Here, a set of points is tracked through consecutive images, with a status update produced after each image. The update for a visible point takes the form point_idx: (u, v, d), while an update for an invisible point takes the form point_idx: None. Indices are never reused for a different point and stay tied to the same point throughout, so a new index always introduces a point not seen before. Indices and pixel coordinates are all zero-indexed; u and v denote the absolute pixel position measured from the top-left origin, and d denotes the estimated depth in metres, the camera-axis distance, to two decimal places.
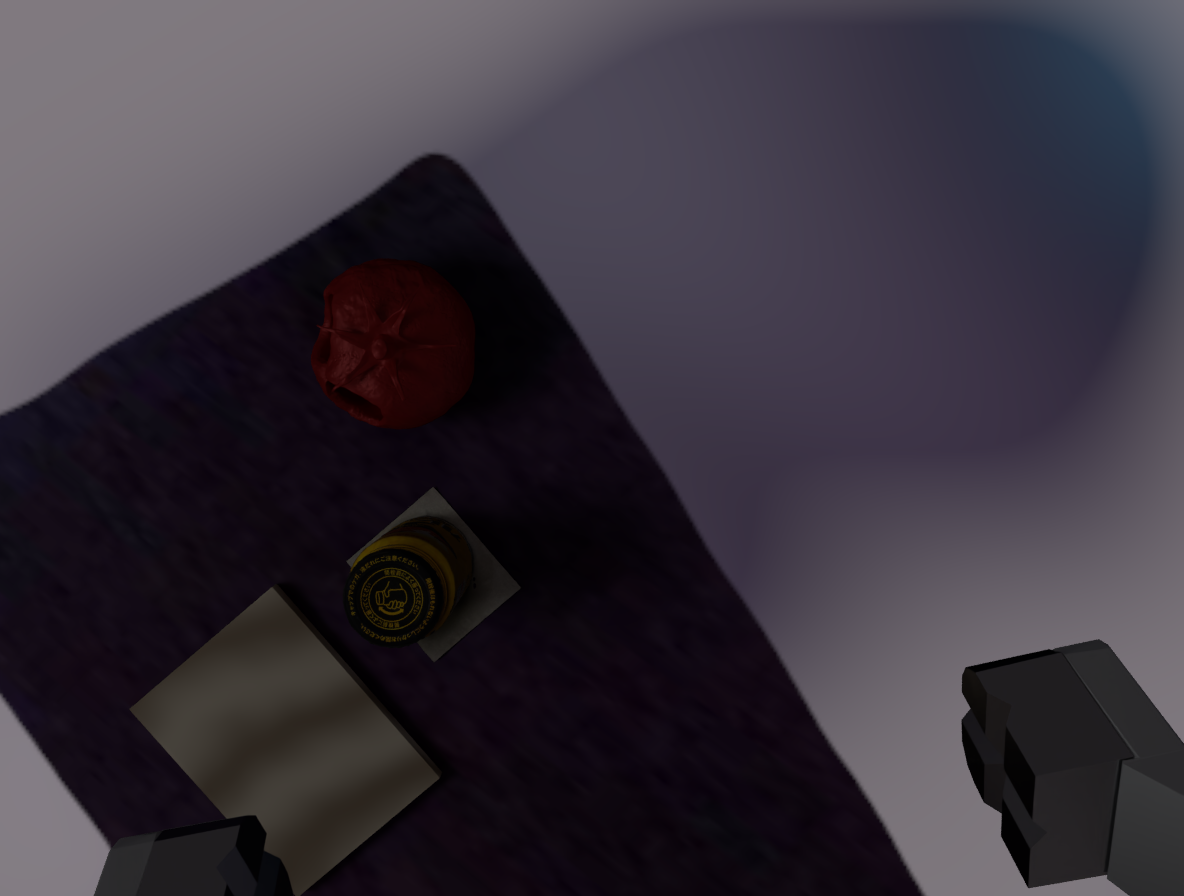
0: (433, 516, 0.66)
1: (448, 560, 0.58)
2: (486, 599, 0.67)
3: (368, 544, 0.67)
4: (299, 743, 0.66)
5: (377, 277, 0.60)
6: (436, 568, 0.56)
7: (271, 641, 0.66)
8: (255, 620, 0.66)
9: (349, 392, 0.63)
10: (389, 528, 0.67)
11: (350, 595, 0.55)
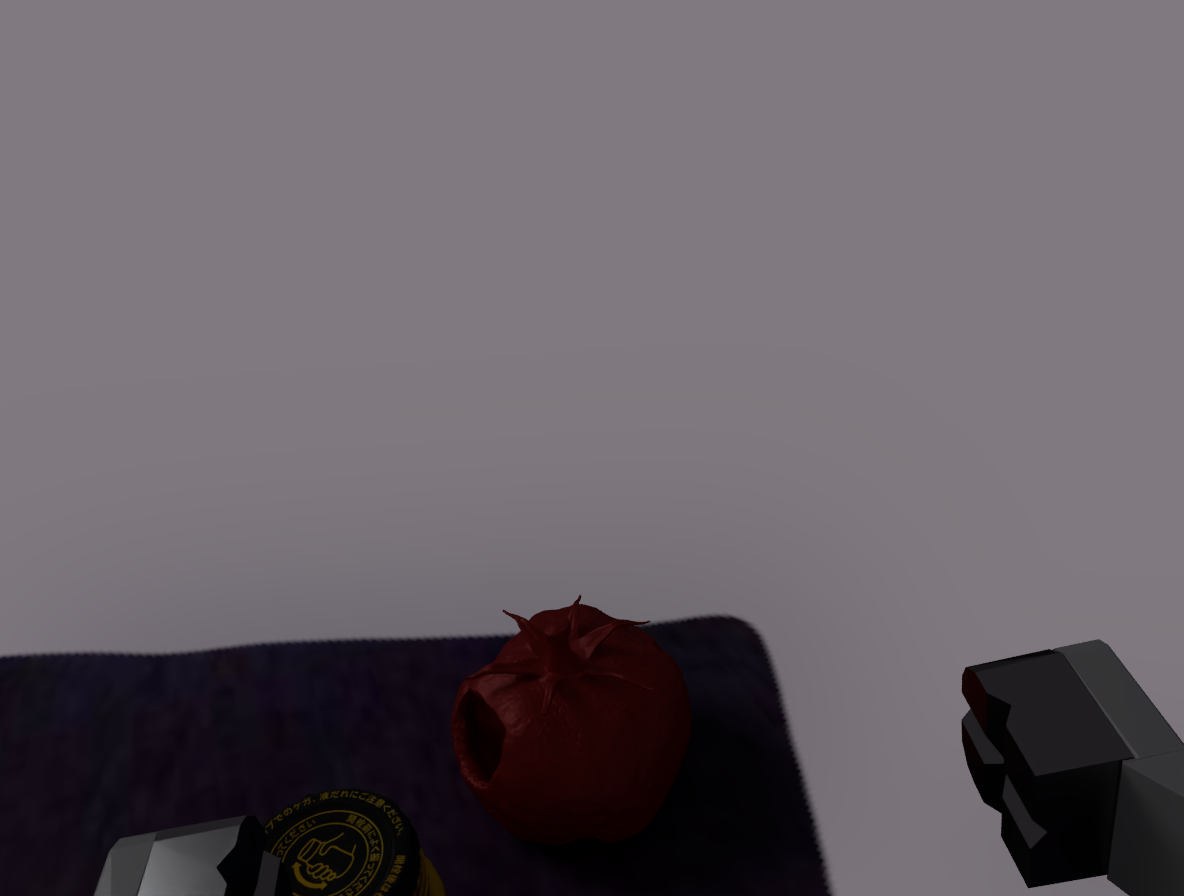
0: None
1: None
2: None
3: None
4: None
5: (603, 615, 0.45)
6: (424, 881, 0.30)
7: None
8: None
9: (478, 756, 0.44)
10: None
11: (274, 822, 0.30)
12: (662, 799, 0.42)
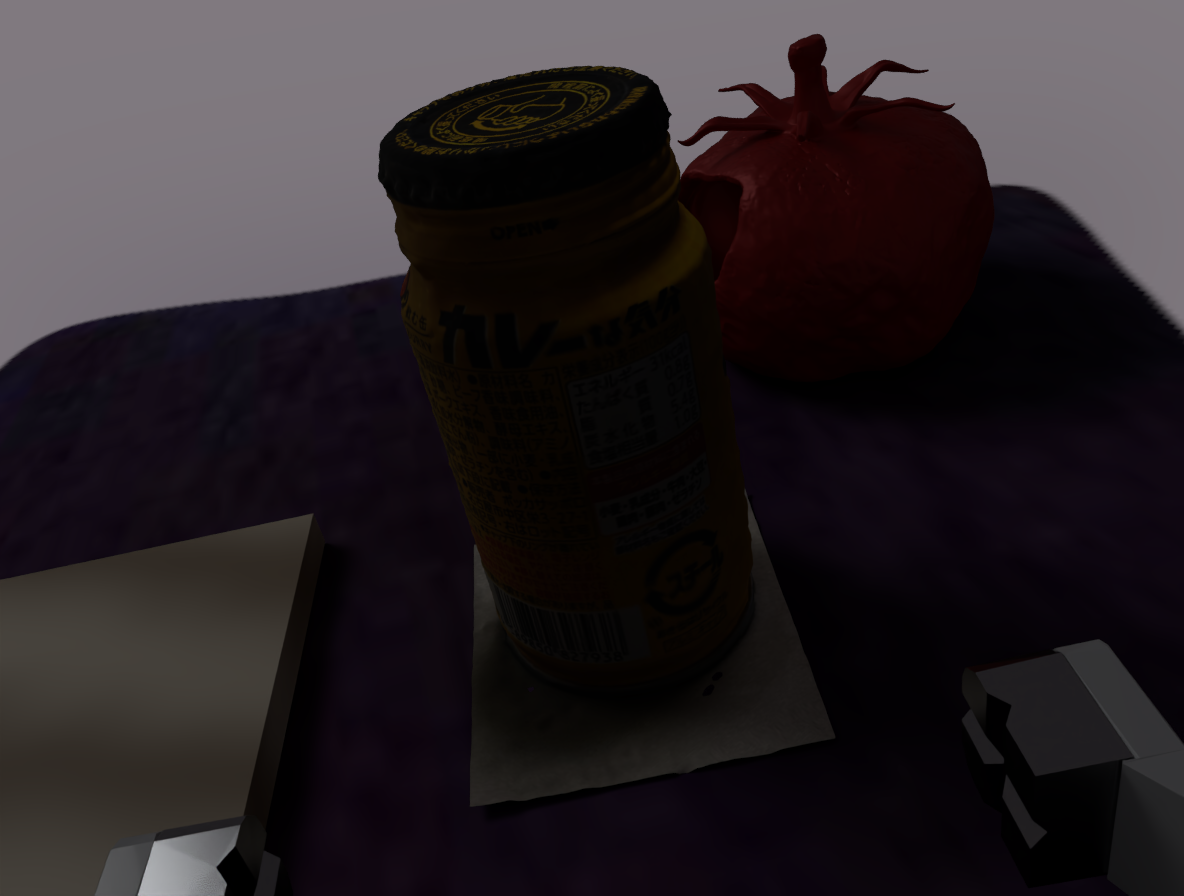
0: None
1: (709, 250, 0.20)
2: (719, 725, 0.21)
3: None
4: (11, 809, 0.22)
5: None
6: (673, 158, 0.19)
7: (211, 591, 0.27)
8: (229, 551, 0.28)
9: None
10: None
11: (438, 101, 0.20)
12: (960, 303, 0.30)
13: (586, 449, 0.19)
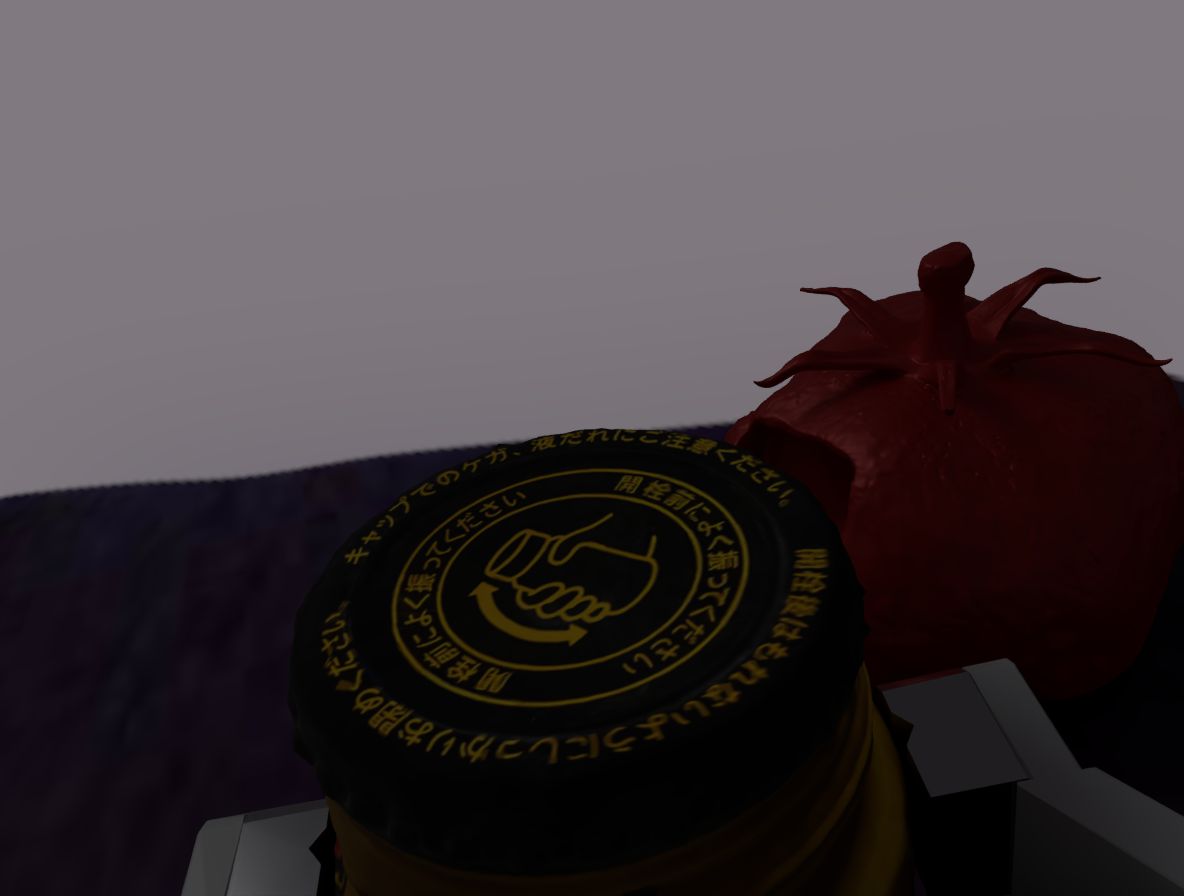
0: None
1: (906, 785, 0.11)
2: None
3: None
4: None
5: None
6: None
7: None
8: None
9: None
10: None
11: (412, 499, 0.11)
12: None
13: None
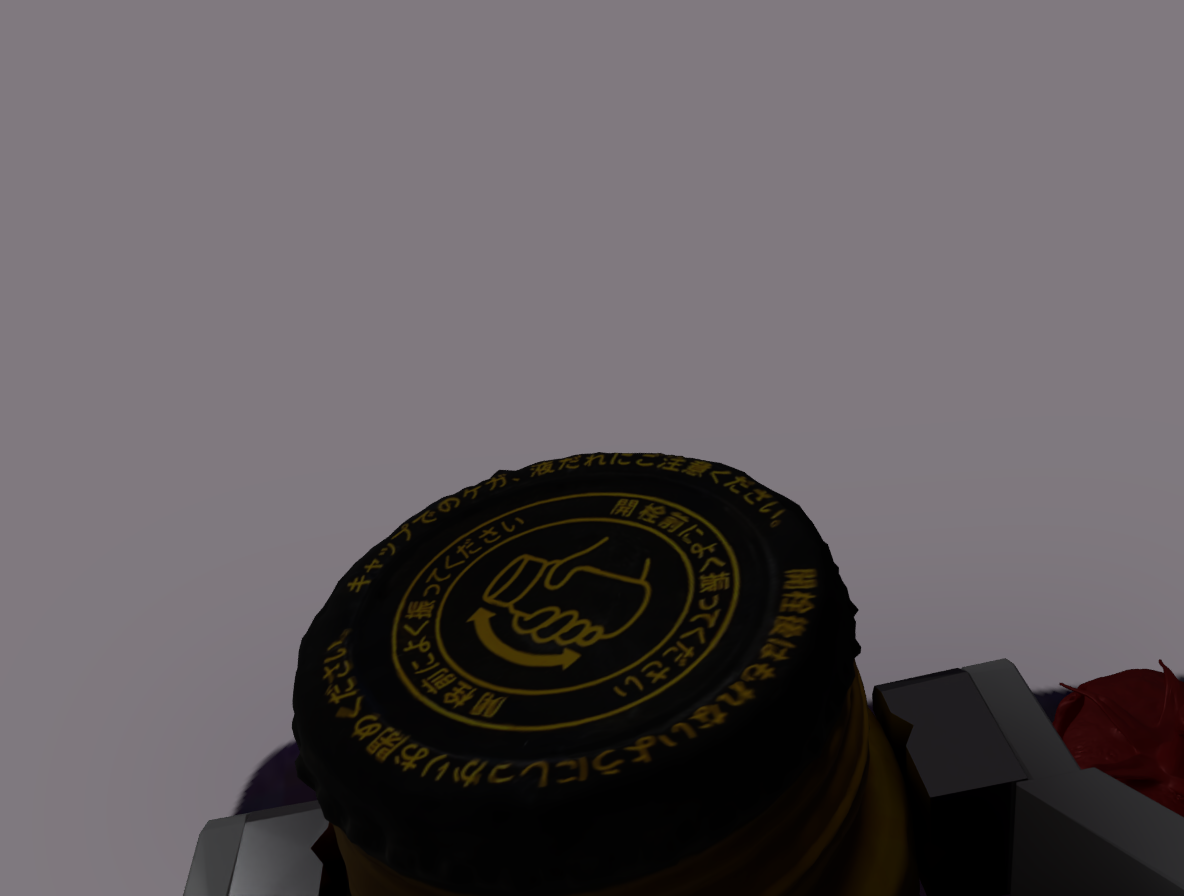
0: None
1: (909, 801, 0.11)
2: None
3: None
4: None
5: None
6: (854, 669, 0.10)
7: None
8: None
9: None
10: None
11: (414, 526, 0.11)
12: None
13: None
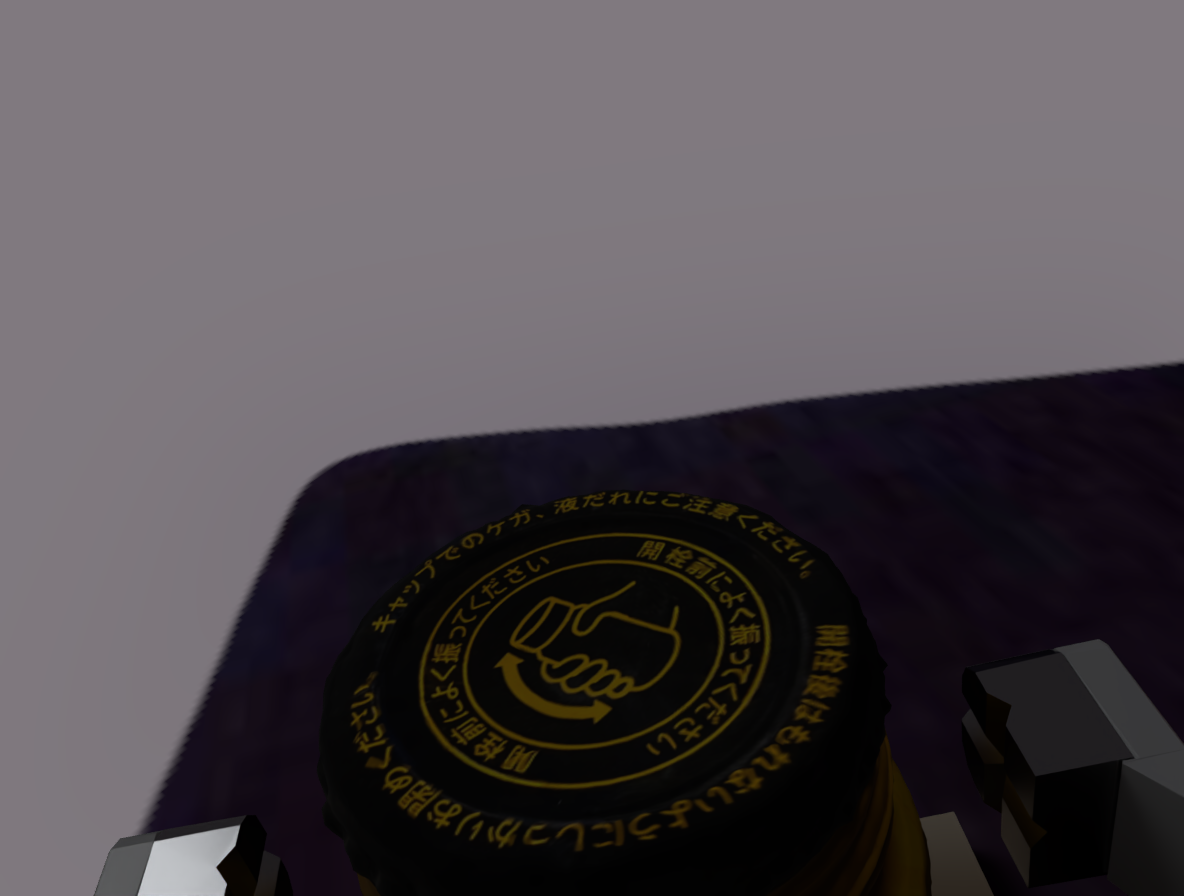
0: None
1: (926, 847, 0.11)
2: None
3: None
4: None
5: None
6: None
7: None
8: None
9: None
10: None
11: (438, 563, 0.11)
12: None
13: None
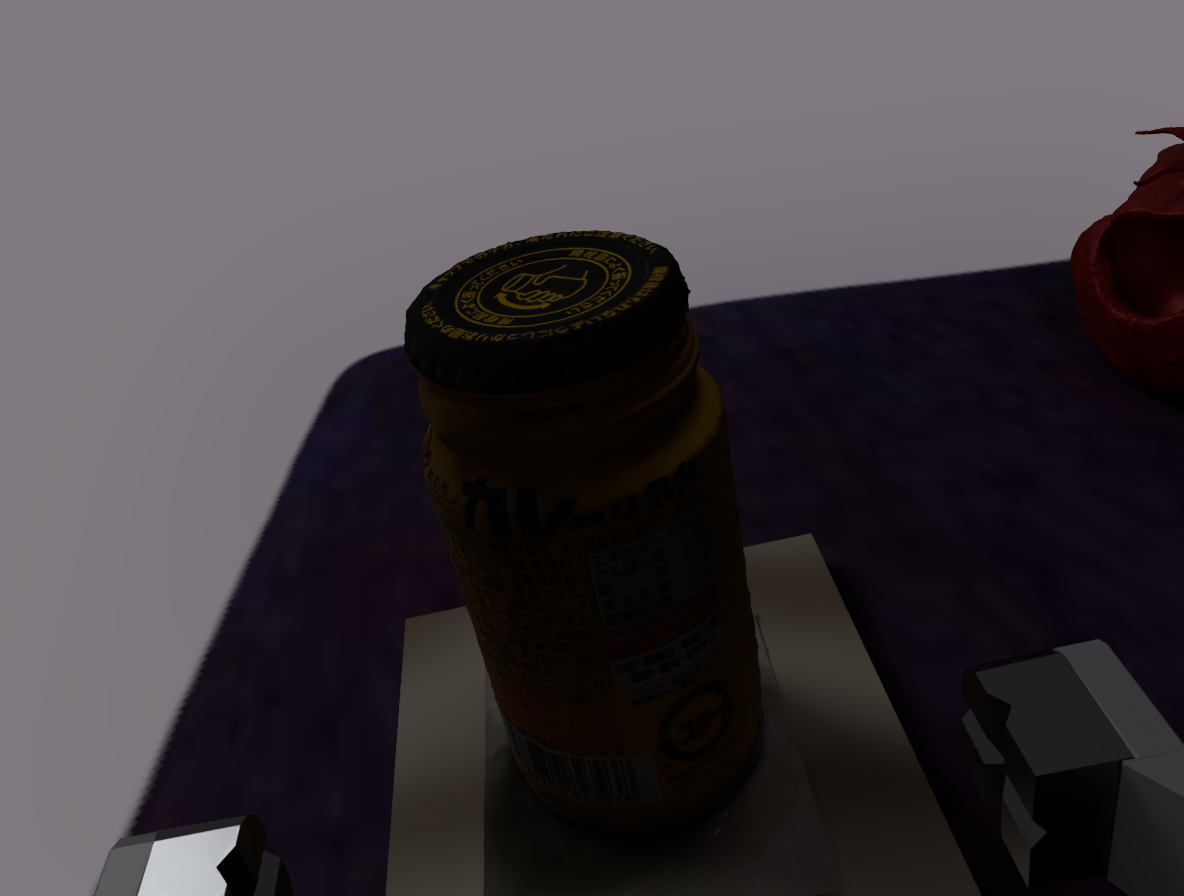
0: None
1: (725, 413, 0.20)
2: (728, 871, 0.22)
3: None
4: None
5: None
6: (692, 330, 0.19)
7: (752, 607, 0.28)
8: None
9: None
10: None
11: (462, 264, 0.20)
12: None
13: (603, 613, 0.19)
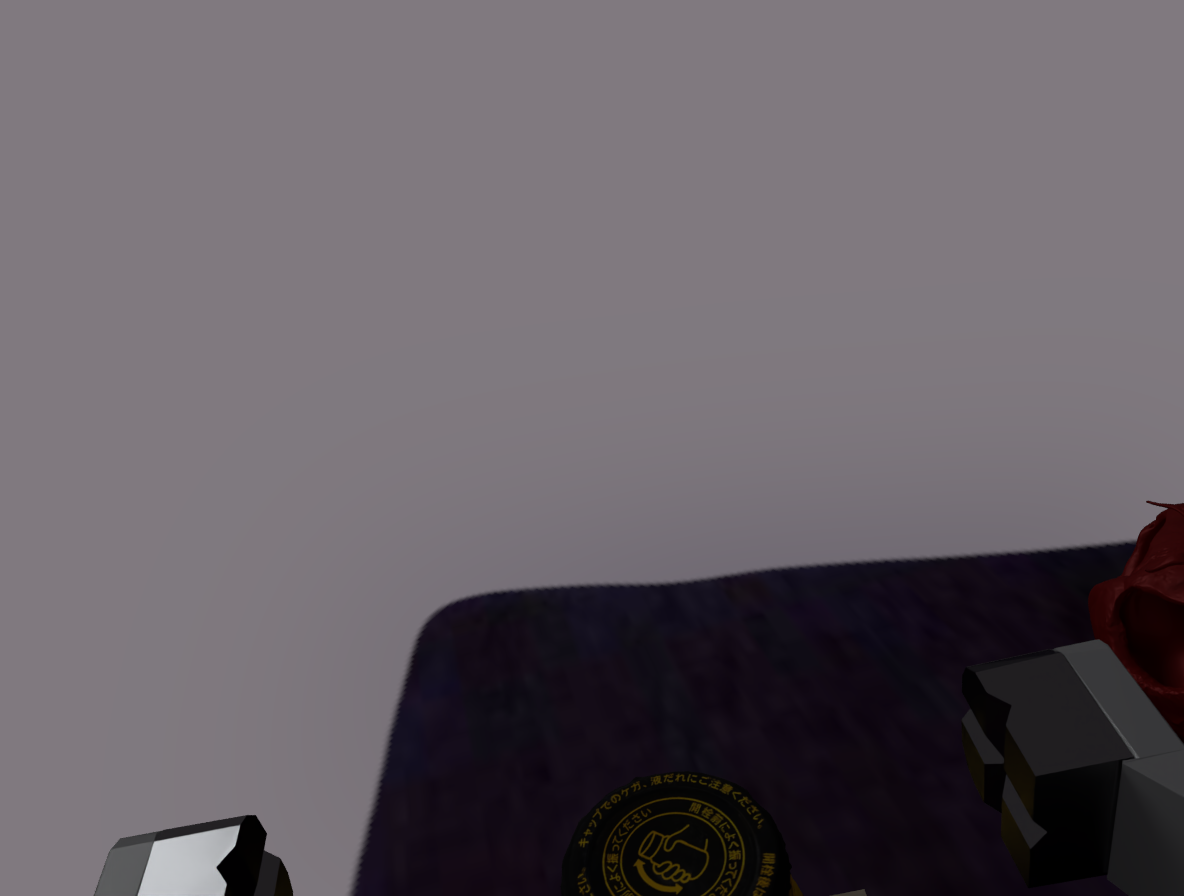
0: None
1: None
2: None
3: None
4: None
5: None
6: (790, 886, 0.24)
7: None
8: None
9: None
10: None
11: (602, 810, 0.25)
12: None
13: None
